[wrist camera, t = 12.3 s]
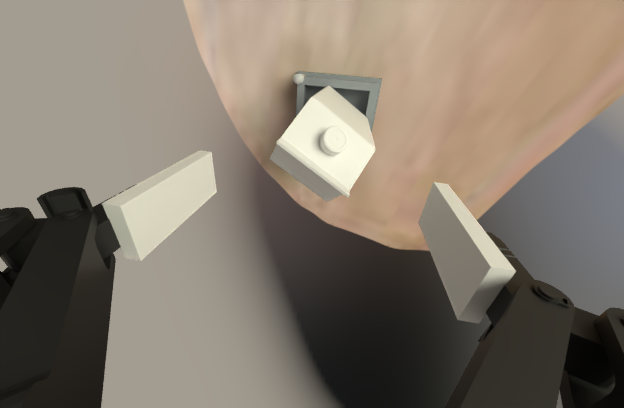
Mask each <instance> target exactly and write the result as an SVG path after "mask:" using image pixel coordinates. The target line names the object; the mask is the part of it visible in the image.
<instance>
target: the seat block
mask: <svg viewBox="0 0 624 408" xmlns="http://www.w3.org/2000/svg"><path fill="white" fill-rule="evenodd" d="M293 81H294V83H295V84H297V105H296V117H297V115H298V114H299V113H300V111H301V110H302V109H303V107H304V106H305V105H306V103H307V102H308V101H309V99H310V98H311V97H312V96H314V95H315V94H316V93H318V92H319V91H321V90H322V89H324V88H325V87H327V86H331V87H332V88H333V89H334V90H335V91H337V92H338V93H339V94H340V95H341V96H342V97H344V98H345V99H346V100H347V101H348V102H349V103H351V104H352V105H353V106H354V107H355V108H356V109H358V110H359V111H360V112H361V113H362V114H363V115H365V116H366V117H367V118H368V122H369V126H370V130H371V133H372V127H373V122H374V117H375V112H376V107H377V102H378V97H379V92H380V87H381V82H382V79H381V78H370V77H358V76H347V75H336V74H325V73H314V72H303V71H298V74H295V75H294V77H293ZM366 165H367V164H366Z"/></svg>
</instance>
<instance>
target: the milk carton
mask: <svg viewBox="0 0 624 408" xmlns="http://www.w3.org/2000/svg"><path fill="white" fill-rule="evenodd" d="M276 143H277V145H276V147H275V149H274V151H273V153H272V155H271V157H270V160H271V161H272V162H274V163H275V164H276V165H278V166H279V167H280V168H282V169H283V170H285V171H286V172H287V173H289V174H290V175H291V176H293V177H294V178H295V179H297V180H298V181H299V182H301V183H302V184H303V185H305V186H306V187H307V188H309V189H310V190H312V191H313V192H314V193H316V194H317V195H318V196H320V197H321V198H322V199H324V200H325V201H330V200H332V199H334V198H336V197H338V196H340V195H342V194H344V195H345V196H346V197H349V192H350V189H351V188H352V186H353V184H354V183H355V181H356V180H357V178H358V177H359V175H360V173H361V172H362V170H363V169H364V167H365V166H366V164H367V163H368V161H369V159H370V158H371V156H372V155H373V153H374V152H375V145H374V141H373V137H372V134H371V130H370V126H369V122H368V118H367V117H366V116H365V115H363V114H362V113H361V112H360V111H359V110H358V109H356V108H355V107H354V106H353V105H352V104H351V103H349V102H348V101H347V100H346V99H345V98H344V97H342V96H341V95H340V94H339V93H338V92H337V91H335V90H334V89H333V88H332V87H331V86H327V87H325V88H324V89H322V90H321V91H319V92H318V93H316V94H315V95H314V96H312V97H311V98H310V99H309V101H308V102H307V103H306V105H305V106H304V107H303V109H302V110H301V111H300V113H299V114H298V115H297V117H296V118H295V119H294V121H293V122H292V123H291V125H290V126H289V127H288V128H287V130H286V131H285V132H284V134H283V135H282V136H281V138H280V139H279V140H278V141H277V142H276Z"/></svg>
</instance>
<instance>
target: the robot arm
mask: <svg viewBox="0 0 624 408" xmlns="http://www.w3.org/2000/svg"><path fill="white" fill-rule="evenodd" d="M216 192H217V190H216V182H215V175H214V168H213V160H212V152H208V151H201V150H199V151H197V152H196V153H194V154H192V155H190V156H188V157H186V158H185V159H183V160H181V161H179V162H177V163H175V164H174V165H172V166H170V167H168V168H166V169H164V170H162V171H160V172H159V173H157V174H155V175H153V176H151V177H149V178H148V179H146V180H144V181H142V182H140V183H138V184H136V185H133V186H132V187H130V188H128V189H126V190H125V191H122V192H120V193H119V194H118V195H115V196H113V197H111V198H109V199H107V200H106V201H104V202H102V203H100V204H98V205H96V206H94V207H92V205H91V202H90V200H89V198H88V196H87V194H86V191H85V190H84V189H82V188H78V187H77V188H76V187H70V188H62V189H57V190H53V191H50V192H47V193H45V194H43V195H41V196H40V197H38V198H37V200H38V202H39V204H40V205H41V207H42V209H43V211H44V212H45V214H46V216H47V218H39V219H35V218H34V217H33V215H32V214H31V212H30V211H29V209H28V208H24V207H15V208H5V209H2V210H1V209H0V257H1V258H2V260H3V261H4V262H5V264H6V265H7V266H8V267H7V268H6V269H5V270H4V271H3V272H1V271H0V408H101V401H102V391H103V381H104V371H105V361H106V351H107V340H108V331H109V321H110V311H111V301H112V291H113V280H114V271H115V256H114V254H113V252H115V251H116V250H117V249H118V248H121V250H122V253H123V255H124V258H128V259H133V260H139V261H141V260H142V259H143V258H145V257H146V256H147V255H148V254H149V253H150V252H151V251H152V250H153V249H155V248H156V247H157V246H158V245H159V244H160V243H161V242H162V241H163V240H164V239H165V238H167V237H168V236H169V235H170V234H171V233H172V232H173V231H174V230H175V229H177V227H179V226H180V225H181V224H182V223H183V222H184V221H185V220H186V219H188V218H189V217H190V216H191V215H192V214H193V213H194V212H195V211H196V210H197V209H199V208H200V207H201V206H202V205H203V204H204V203H205V202H206V201H207V200H208V199H210V197H212V196H213V195H214V194H215V193H216ZM418 223H419V225H420V227H421V230H422V232H423V235H424V237H425V240H426V242H427V245H428V247H429V250H430V252H431V255H432V257H433V260H434V262H435V264H436V267H437V269H438V272H439V274H440V277H441V279H442V282H443V284H444V287H445V289H446V292H447V294H448V297H449V299H450V302H451V304H452V307H453V309H454V312H455V314H456V316H457V319H458V320H462V321H468V322H474V323H480V321H481V320H482V318H483V317H484V316H485V314H486V313H487V315H488V317H489V319H490V321H491V324H490V326H489V327H488V328H487V330H486V331H485V332H484V334H483V335H482V336H481V338H480V339H479V340H478V341H479V342H480V343H479V345H478V346H477V348H476V350H475V352H474V354H473V356H472V357H471V359H470V361H469V363H468V365H467V367H466V368H465V370H464V372H463V374H462V376H461V378H460V380H459V381H458V383H457V385H456V387H455V389H454V391H453V392H452V394H451V396H450V398H449V400H448V401H447V403H446V405H445V407H444V408H556V405H557V400H558V394H559V389H560V394H561V399H562V405H563V408H624V310H623V309H620V308H609V309H607V310H606V311H605V312H604V313H603V314H601V315H600V316H598V315H595V314H592V313H589V312H587V311H584V310H581V309H579V308H576V307H574V304H573V303H572V301H571V300H570V299H569V298H568V297H567V296H566V295H565V294H563V293H562V292H561V291H560V290H558V289H556V288H555V287H553V286H551V285H549V284H547V283H544V282H542V281H538V280H534V279H533V277H532V276H531V275H530V274H529V273H528V271H527V270H526V269H525V268H524V267H523V265H522V264H521V263H520V262H519V261H518V260H517V258H514V255H513V254H512V252H511V251H509V249H508V248H507V247H506V245H505V244H504V243H503V242H502V241H501V240H500V239H499V238H497V237H496V236H495V235H493V234H492V233H488V232H485V231H484V230H483V228H482V227H481V226H480V224H479V223H478V222H477V221H476V219H475V218H474V217H473V216H472V214H471V213H470V212H469V210H468V209H467V208H466V207H465V205H464V204H463V203H462V202H461V200H460V199H459V198H458V196H457V195H456V194H455V193H454V191H453V190H452V189H451V188H450V186H449V185H448V184H444V183H436V182H433V185H432V188H431V190H430V193H429V196H428V198H427V201H426V204H425V206H424V209H423V212H422V214H421V217H420V220H419V222H418Z"/></svg>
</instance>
